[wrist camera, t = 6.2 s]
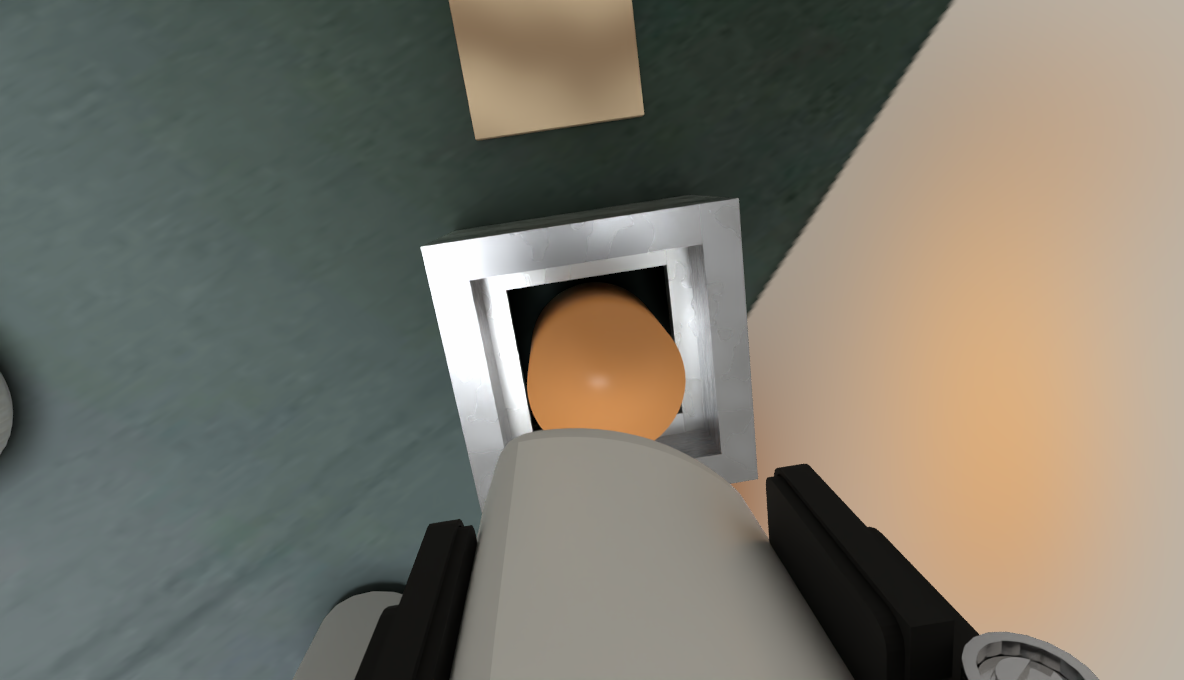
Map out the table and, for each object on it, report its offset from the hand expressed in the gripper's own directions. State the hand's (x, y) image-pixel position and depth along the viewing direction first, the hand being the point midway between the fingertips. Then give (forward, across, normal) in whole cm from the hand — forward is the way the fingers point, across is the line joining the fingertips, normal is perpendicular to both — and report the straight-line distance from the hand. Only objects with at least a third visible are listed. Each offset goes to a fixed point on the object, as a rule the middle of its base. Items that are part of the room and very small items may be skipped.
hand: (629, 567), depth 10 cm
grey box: (+20, 0, 0) cm, 20 cm away
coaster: (+20, 0, -14) cm, 24 cm away
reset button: (+16, -1, 0) cm, 16 cm away
